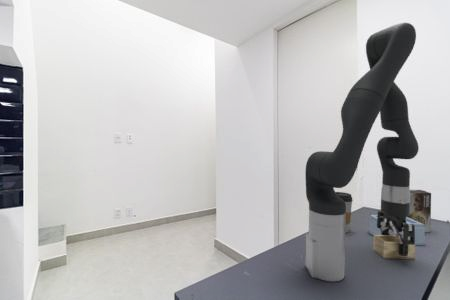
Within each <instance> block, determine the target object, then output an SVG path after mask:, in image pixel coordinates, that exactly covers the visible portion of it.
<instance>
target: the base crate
mask: <svg viewBox="0 0 450 300" xmlns="http://www.w3.org/2000/svg"><path fill="white" fill-rule="evenodd" d="M377 217H378V214H370V215H369V218H368V233H369V234H370V235H372V236H373V237H374V235H381V231H380V228H377ZM382 223H383V222H381V224H382ZM406 223H408V224H414V226H415V246H426V243H425V241H426V239H425V237H426V232H425V228H424V224H422V223H420V222H417V221H415V220H413V219H410V218H408V217H406ZM381 224H380V225H381ZM388 233H389V235H395V234H394V232H393V231H392V230H390V231H389V232H388ZM399 233H403V231H402V232H399ZM408 238H409V240H410V236H409V237H408Z"/></svg>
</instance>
